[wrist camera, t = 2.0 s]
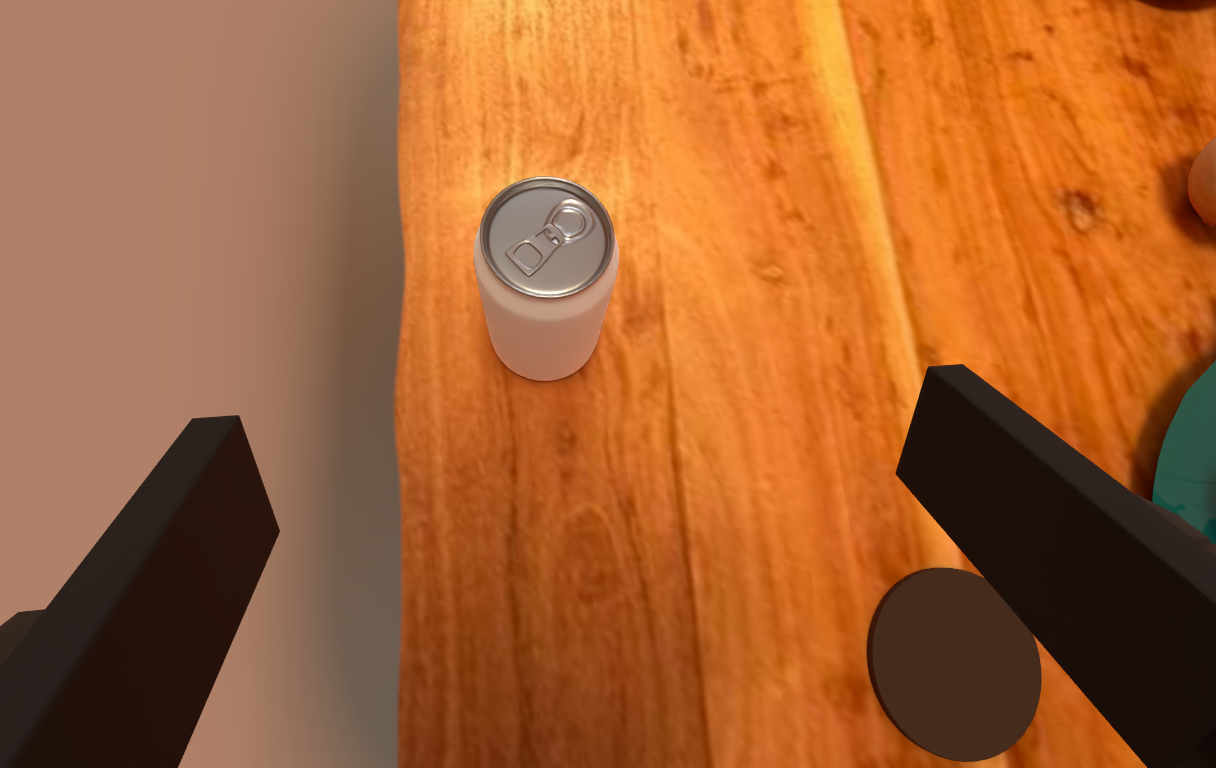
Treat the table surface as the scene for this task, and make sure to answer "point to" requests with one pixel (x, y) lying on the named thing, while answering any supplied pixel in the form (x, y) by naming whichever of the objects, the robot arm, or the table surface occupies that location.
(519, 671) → the table surface
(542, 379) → the can
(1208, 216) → the fruit
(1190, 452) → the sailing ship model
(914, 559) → the table surface
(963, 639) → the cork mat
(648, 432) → the table surface
